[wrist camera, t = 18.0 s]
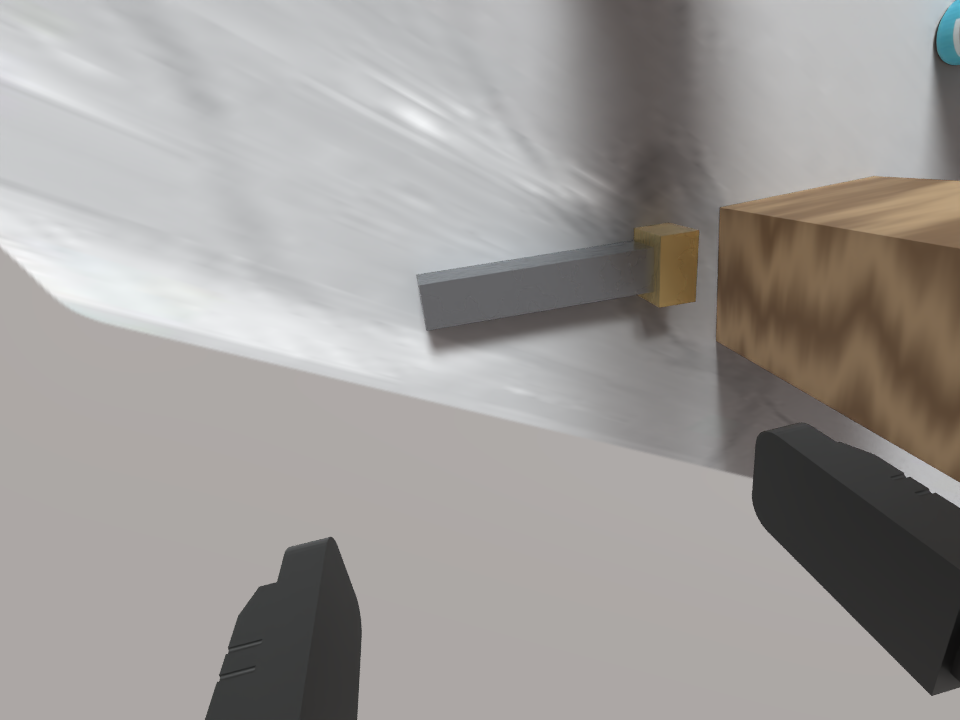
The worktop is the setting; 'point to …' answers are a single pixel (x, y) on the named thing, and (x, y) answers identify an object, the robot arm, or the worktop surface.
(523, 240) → the worktop surface
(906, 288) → the post
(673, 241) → the grey long block
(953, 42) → the tube
